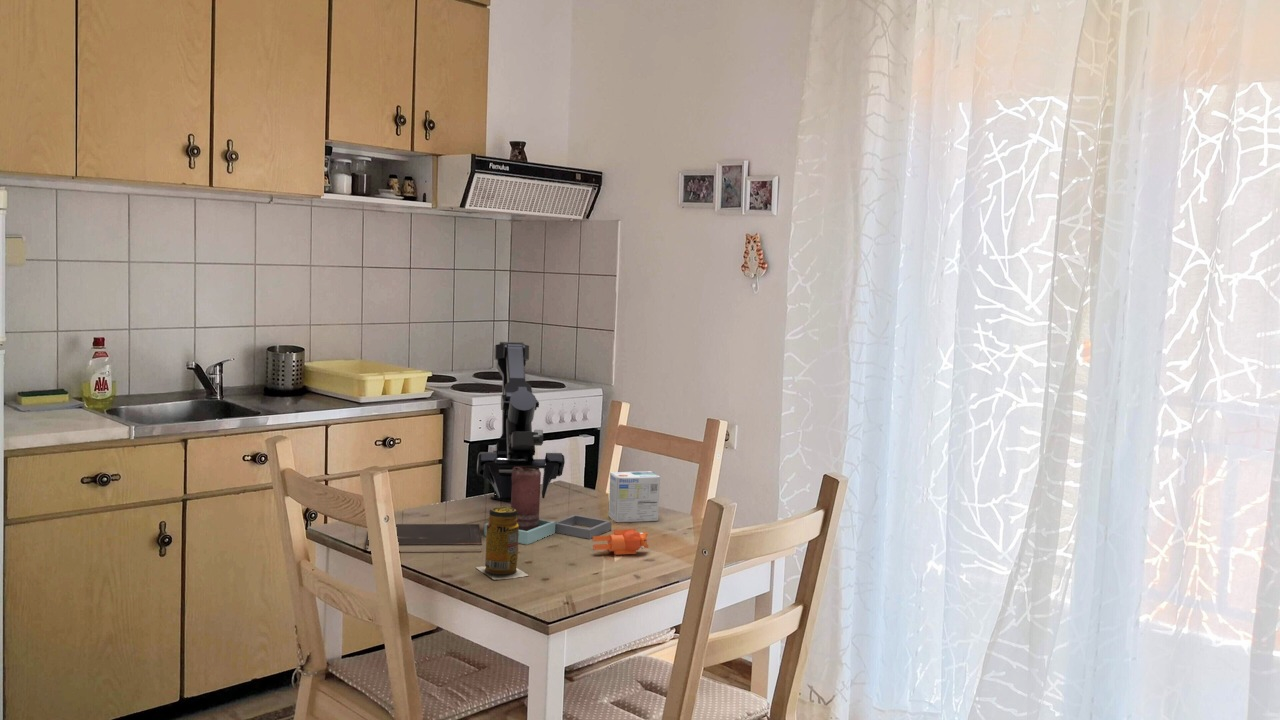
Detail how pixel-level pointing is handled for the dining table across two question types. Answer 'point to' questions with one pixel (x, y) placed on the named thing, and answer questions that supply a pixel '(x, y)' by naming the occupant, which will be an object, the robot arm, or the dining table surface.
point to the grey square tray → (566, 527)
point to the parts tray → (533, 532)
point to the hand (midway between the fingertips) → (522, 497)
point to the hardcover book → (438, 537)
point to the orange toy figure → (622, 541)
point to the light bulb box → (634, 496)
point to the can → (526, 496)
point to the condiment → (502, 545)
